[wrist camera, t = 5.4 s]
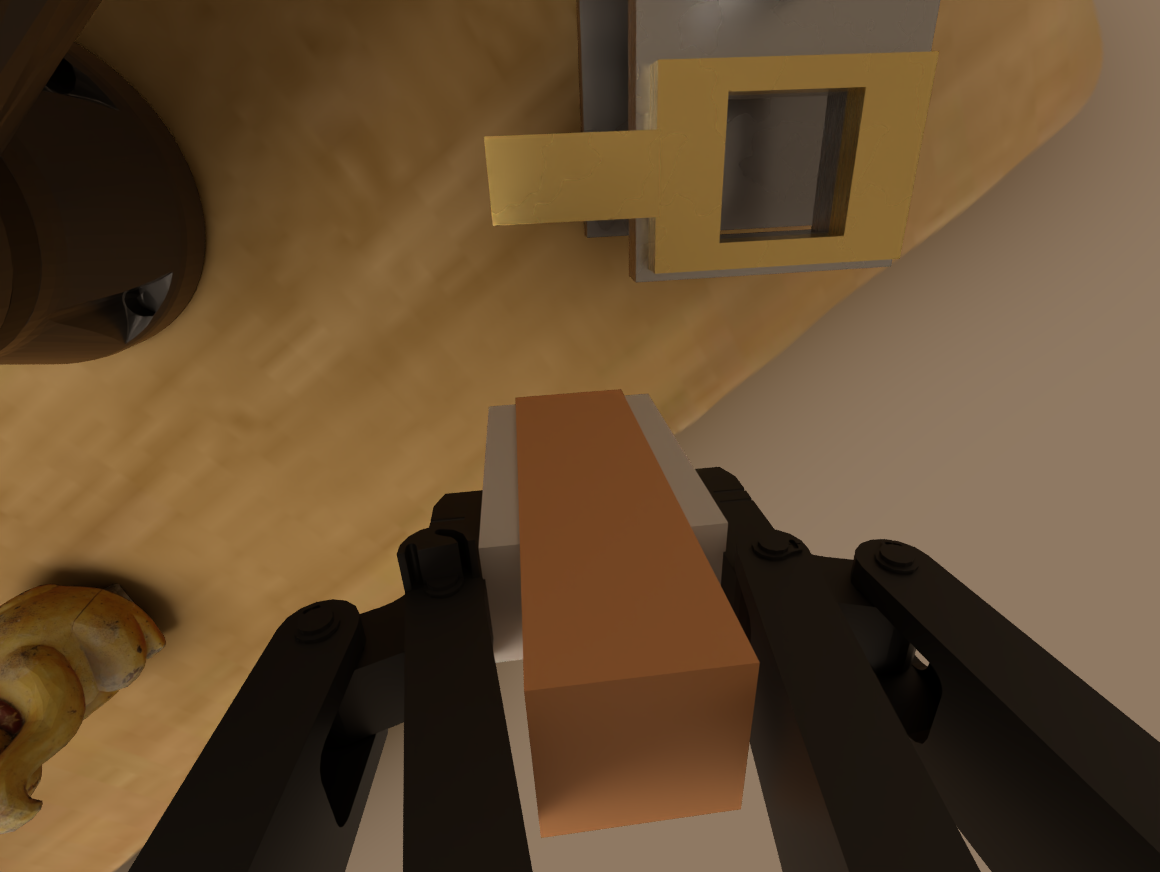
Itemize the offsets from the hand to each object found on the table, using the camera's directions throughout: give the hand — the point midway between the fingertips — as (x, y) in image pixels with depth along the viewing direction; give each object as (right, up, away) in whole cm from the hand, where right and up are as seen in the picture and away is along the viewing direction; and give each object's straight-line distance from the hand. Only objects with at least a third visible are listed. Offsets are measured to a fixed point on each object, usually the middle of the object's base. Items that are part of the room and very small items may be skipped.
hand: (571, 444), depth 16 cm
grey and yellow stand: (+4, +18, +12) cm, 22 cm away
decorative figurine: (-32, -12, +21) cm, 40 cm away
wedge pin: (0, 0, 0) cm, 0 cm away
